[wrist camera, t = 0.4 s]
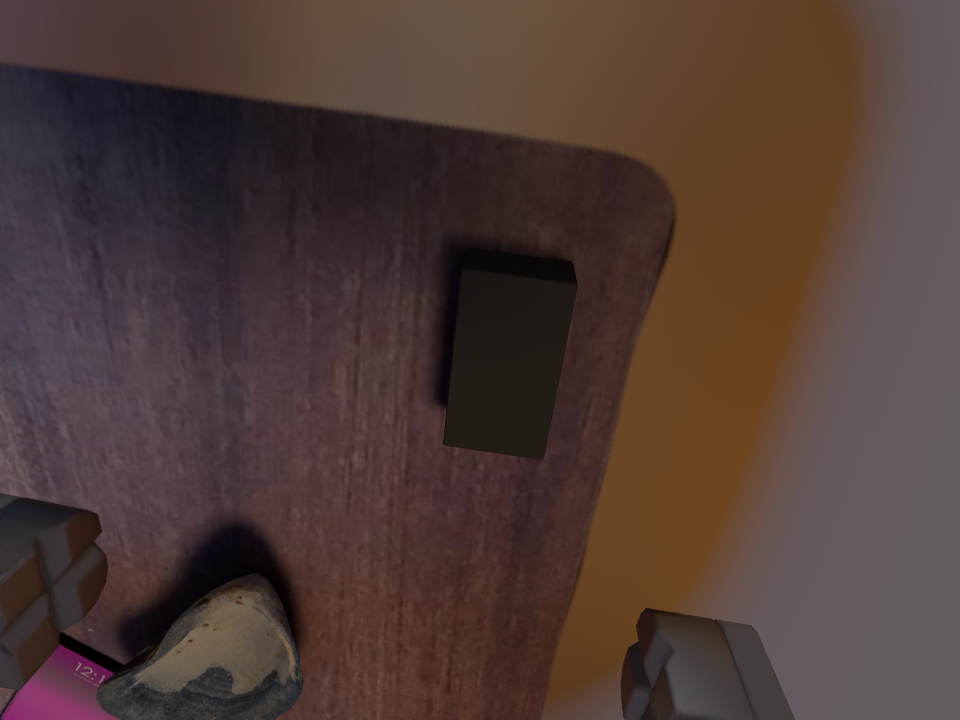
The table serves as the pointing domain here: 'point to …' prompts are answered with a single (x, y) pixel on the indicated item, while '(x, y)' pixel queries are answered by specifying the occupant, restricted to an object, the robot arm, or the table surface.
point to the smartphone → (63, 688)
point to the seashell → (214, 662)
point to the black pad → (508, 352)
